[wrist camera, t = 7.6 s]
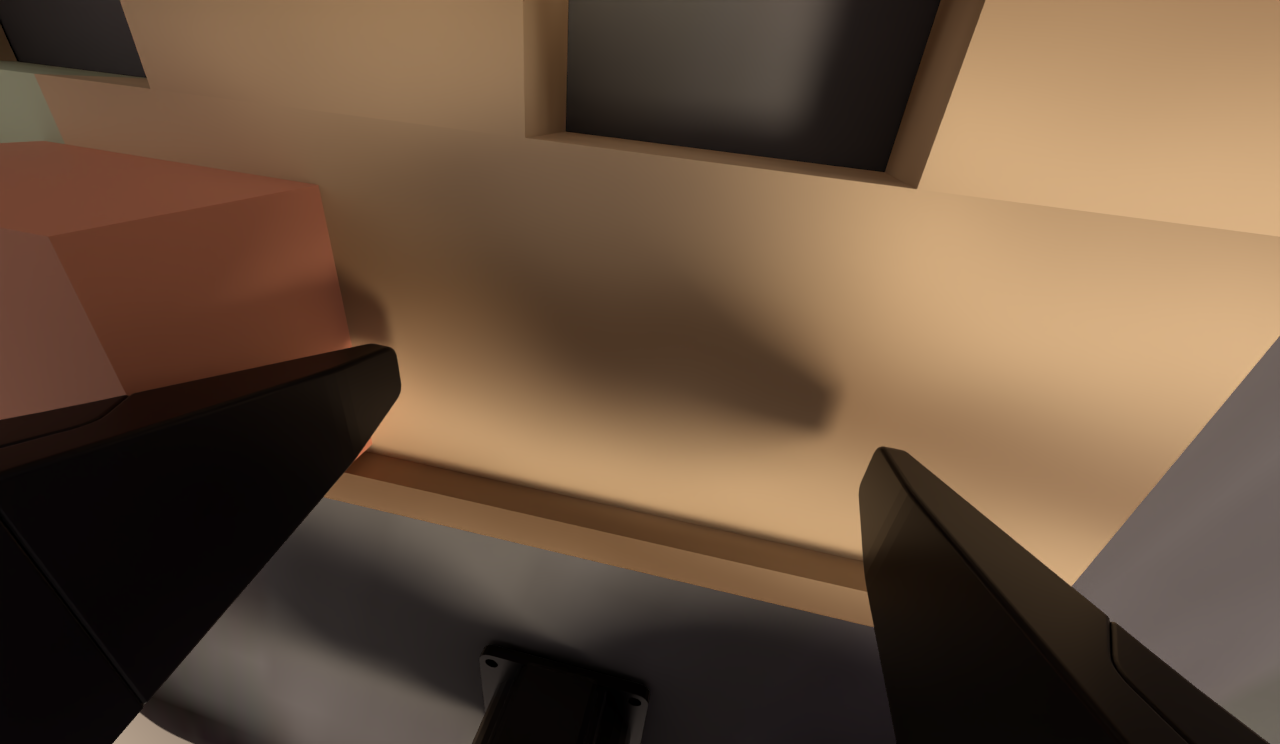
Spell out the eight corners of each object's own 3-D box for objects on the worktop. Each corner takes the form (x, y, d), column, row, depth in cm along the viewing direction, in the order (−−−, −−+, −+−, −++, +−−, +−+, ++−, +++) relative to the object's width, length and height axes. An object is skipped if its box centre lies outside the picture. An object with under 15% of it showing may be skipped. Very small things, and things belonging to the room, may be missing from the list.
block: (372, 444, 12) (219, 582, 8) (160, 396, 13) (-63, 506, 9) (318, 184, 9) (48, 236, 5) (43, 140, 10) (-350, 162, 6)
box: (993, 559, 12) (1051, 669, 10) (17, 349, 16) (-113, 393, 14) (1736, -533, 5) (2781, -1207, 2) (-470, -459, 8) (-965, -686, 6)
